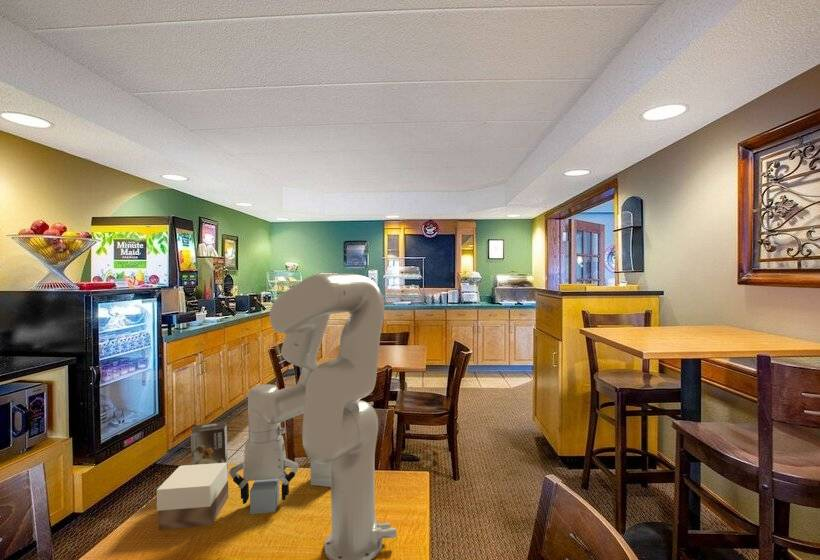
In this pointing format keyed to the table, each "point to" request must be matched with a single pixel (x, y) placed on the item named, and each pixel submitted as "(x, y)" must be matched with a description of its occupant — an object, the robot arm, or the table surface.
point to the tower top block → (192, 486)
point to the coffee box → (209, 444)
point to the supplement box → (320, 474)
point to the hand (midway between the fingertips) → (265, 499)
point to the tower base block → (193, 514)
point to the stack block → (264, 496)
